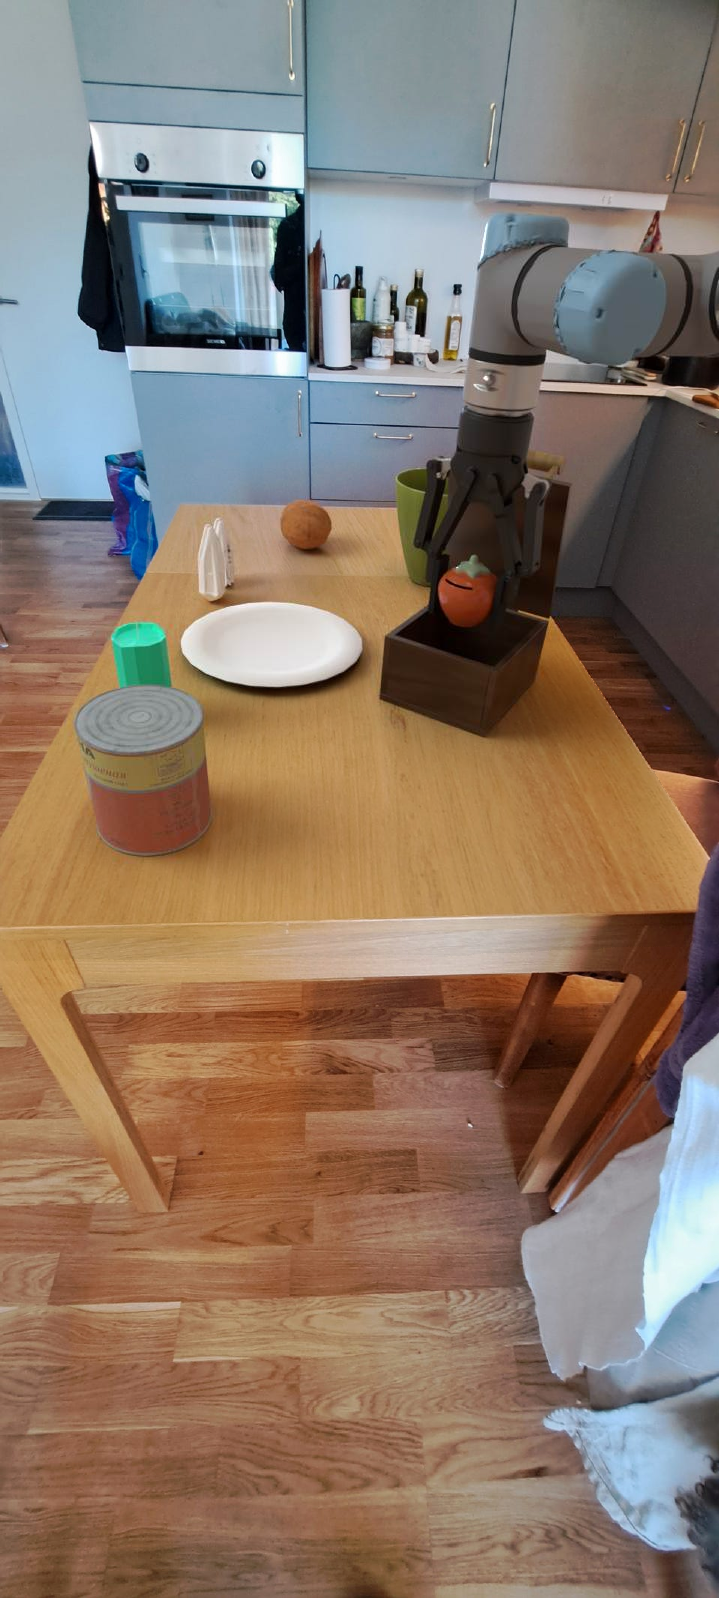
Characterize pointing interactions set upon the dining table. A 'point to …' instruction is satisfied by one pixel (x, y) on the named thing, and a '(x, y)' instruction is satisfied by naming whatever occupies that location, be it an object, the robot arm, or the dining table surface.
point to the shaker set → (215, 561)
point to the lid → (483, 540)
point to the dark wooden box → (461, 667)
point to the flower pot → (415, 519)
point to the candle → (141, 655)
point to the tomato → (467, 593)
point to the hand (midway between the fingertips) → (464, 617)
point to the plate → (271, 645)
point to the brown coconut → (305, 524)
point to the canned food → (146, 768)
